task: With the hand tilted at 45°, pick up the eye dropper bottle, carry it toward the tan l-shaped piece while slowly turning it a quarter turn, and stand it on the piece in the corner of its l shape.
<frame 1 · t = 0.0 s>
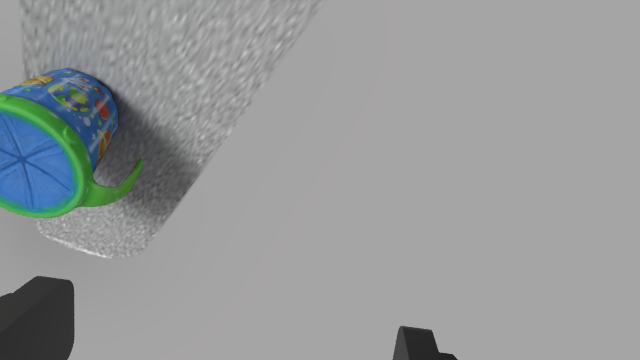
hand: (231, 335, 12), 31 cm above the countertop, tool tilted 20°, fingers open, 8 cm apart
snack cup: (81, 103, 46), on the countertop
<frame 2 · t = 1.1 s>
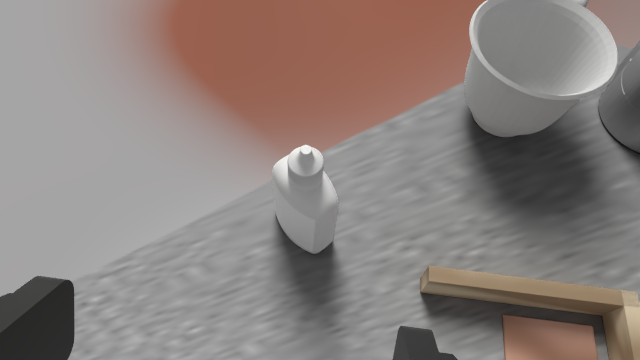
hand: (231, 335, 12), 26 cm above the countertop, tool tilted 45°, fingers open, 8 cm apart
tan l-shaped piece: (550, 354, 38), on the countertop
teacup: (506, 106, 49), on the countertop
eye dropper bottle: (303, 226, 42), on the countertop
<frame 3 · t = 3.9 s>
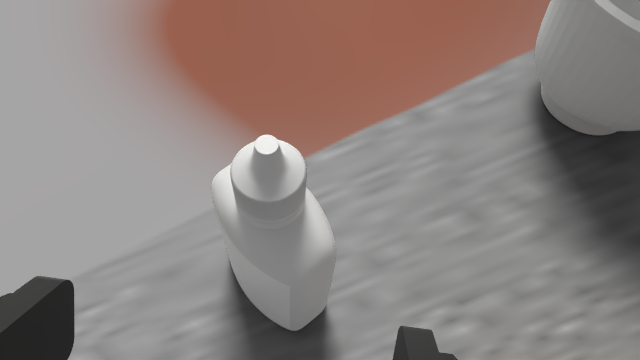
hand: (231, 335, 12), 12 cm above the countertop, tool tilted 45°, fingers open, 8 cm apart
teacup: (592, 89, 33), on the countertop
eye dropper bottle: (276, 280, 25), on the countertop
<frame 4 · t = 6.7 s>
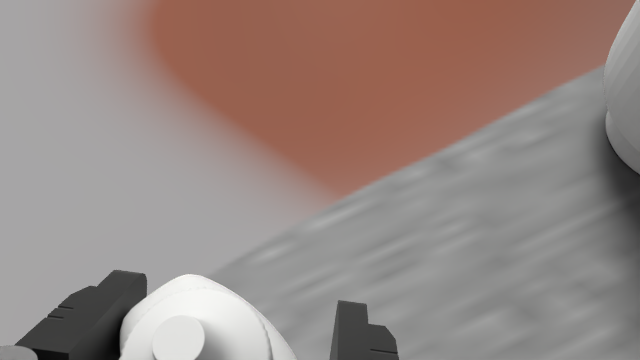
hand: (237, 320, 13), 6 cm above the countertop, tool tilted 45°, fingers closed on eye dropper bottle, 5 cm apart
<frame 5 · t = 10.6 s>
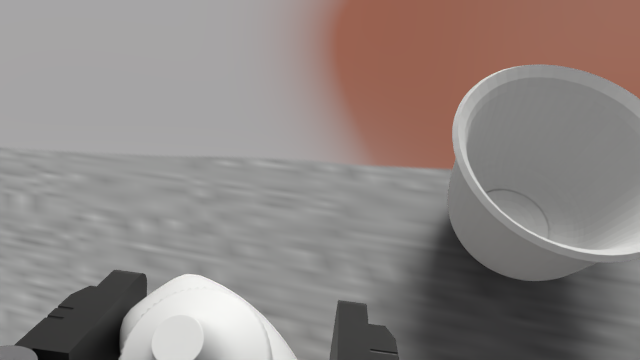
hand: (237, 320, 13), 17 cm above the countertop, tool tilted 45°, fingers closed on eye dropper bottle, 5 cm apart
teacup: (518, 229, 34), on the countertop
when the fingers open (6 cm above the countertop, at t = 14.9 s): eye dropper bottle stays where it is, resting on tan l-shaped piece.
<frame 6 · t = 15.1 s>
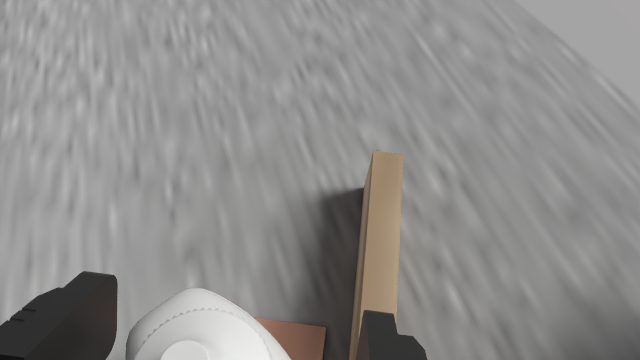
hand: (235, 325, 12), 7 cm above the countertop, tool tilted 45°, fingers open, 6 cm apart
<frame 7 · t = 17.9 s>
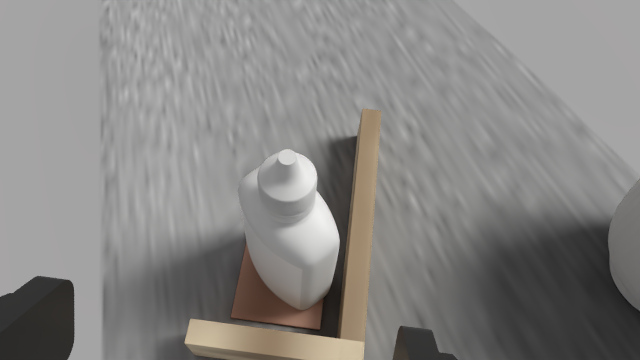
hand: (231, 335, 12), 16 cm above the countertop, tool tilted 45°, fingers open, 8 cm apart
tan l-shaped piece: (284, 264, 29), on the countertop
eye dropper bottle: (288, 268, 29), resting on tan l-shaped piece
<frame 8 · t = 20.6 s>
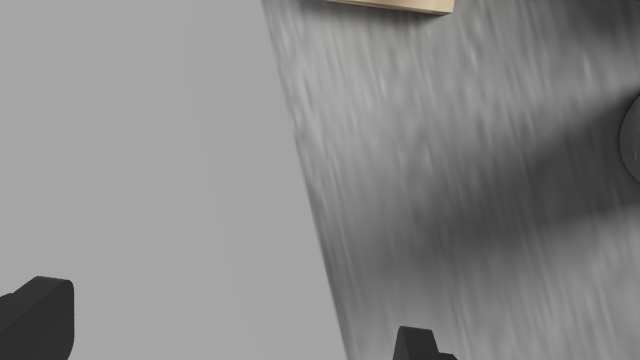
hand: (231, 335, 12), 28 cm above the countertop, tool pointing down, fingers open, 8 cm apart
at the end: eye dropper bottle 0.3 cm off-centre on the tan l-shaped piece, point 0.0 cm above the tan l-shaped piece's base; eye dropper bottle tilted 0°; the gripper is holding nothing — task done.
